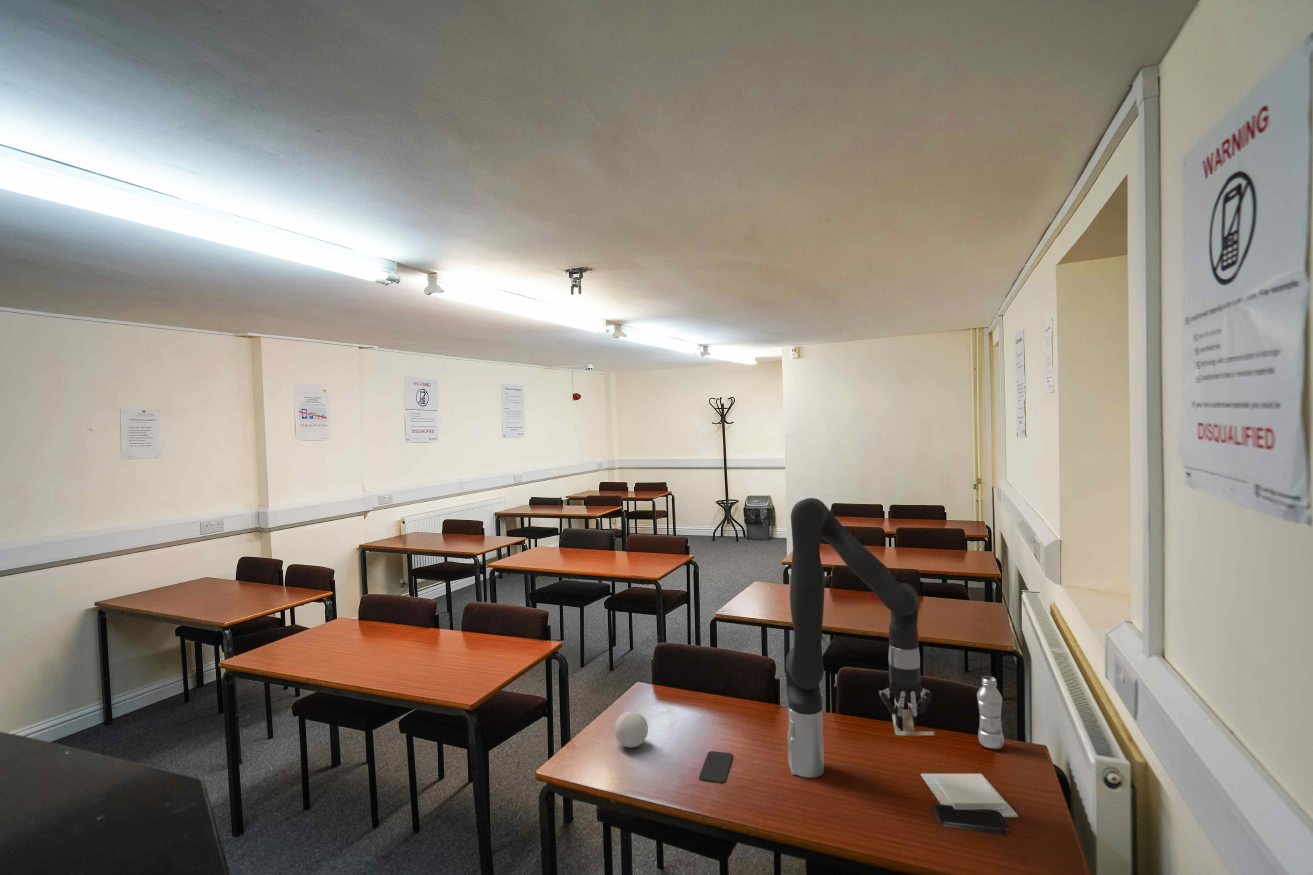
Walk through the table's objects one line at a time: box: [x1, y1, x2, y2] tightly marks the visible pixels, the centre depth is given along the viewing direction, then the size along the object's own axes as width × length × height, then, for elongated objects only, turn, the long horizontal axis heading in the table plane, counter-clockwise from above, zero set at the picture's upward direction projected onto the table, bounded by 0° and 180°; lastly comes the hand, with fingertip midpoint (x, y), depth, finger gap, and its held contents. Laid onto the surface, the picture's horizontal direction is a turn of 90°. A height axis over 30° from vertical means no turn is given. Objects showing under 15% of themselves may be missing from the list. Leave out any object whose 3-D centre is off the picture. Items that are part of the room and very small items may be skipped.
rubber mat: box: [920, 773, 1019, 818], centre depth 154 cm, size 16×18×1 cm
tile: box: [934, 775, 1005, 810], centre depth 153 cm, size 12×2×12 cm
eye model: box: [614, 710, 649, 749], centre depth 183 cm, size 10×10×10 cm
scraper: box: [891, 708, 935, 736], centre depth 156 cm, size 7×16×6 cm, turn 177°
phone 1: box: [698, 750, 734, 784], centre depth 170 cm, size 7×1×15 cm
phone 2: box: [933, 803, 1010, 835], centre depth 144 cm, size 8×1×15 cm
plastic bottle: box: [976, 675, 1005, 750], centre depth 177 cm, size 6×7×20 cm
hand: (906, 728), depth 157 cm, fingers closed on scraper
